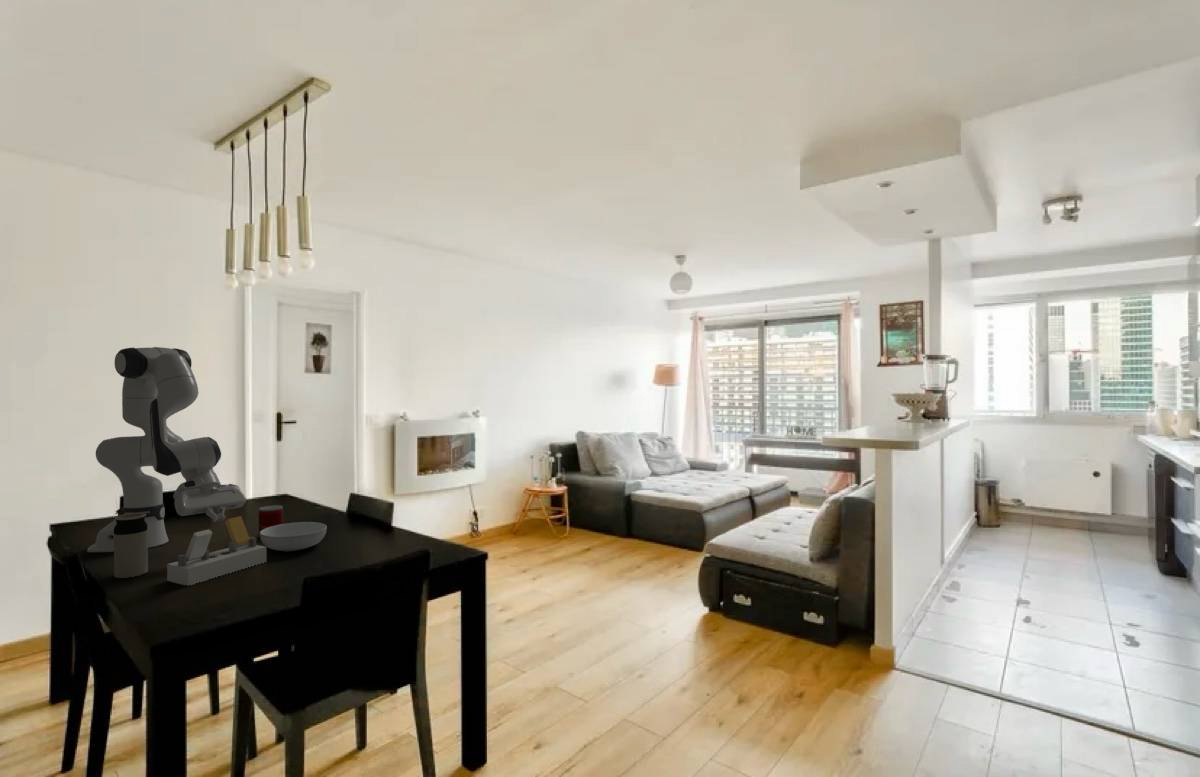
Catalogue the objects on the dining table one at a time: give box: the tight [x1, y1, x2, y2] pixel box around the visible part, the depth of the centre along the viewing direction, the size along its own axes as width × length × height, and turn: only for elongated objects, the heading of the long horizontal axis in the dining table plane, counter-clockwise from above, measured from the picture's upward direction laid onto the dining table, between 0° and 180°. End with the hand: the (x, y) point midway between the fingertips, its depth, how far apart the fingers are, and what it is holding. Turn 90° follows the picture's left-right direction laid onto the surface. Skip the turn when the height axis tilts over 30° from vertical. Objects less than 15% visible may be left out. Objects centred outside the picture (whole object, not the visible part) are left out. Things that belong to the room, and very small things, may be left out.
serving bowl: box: [259, 521, 328, 552], centre depth 206 cm, size 21×21×7 cm
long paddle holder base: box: [166, 536, 267, 587], centre depth 180 cm, size 10×24×8 cm, turn 156°
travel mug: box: [113, 513, 149, 579], centre depth 177 cm, size 8×8×18 cm
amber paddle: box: [224, 515, 251, 548], centre depth 188 cm, size 2×5×10 cm, turn 155°
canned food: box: [258, 504, 284, 538], centre depth 221 cm, size 8×8×11 cm
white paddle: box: [185, 529, 213, 562], centre depth 173 cm, size 2×5×10 cm
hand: (219, 520), depth 191 cm, fingers closed
